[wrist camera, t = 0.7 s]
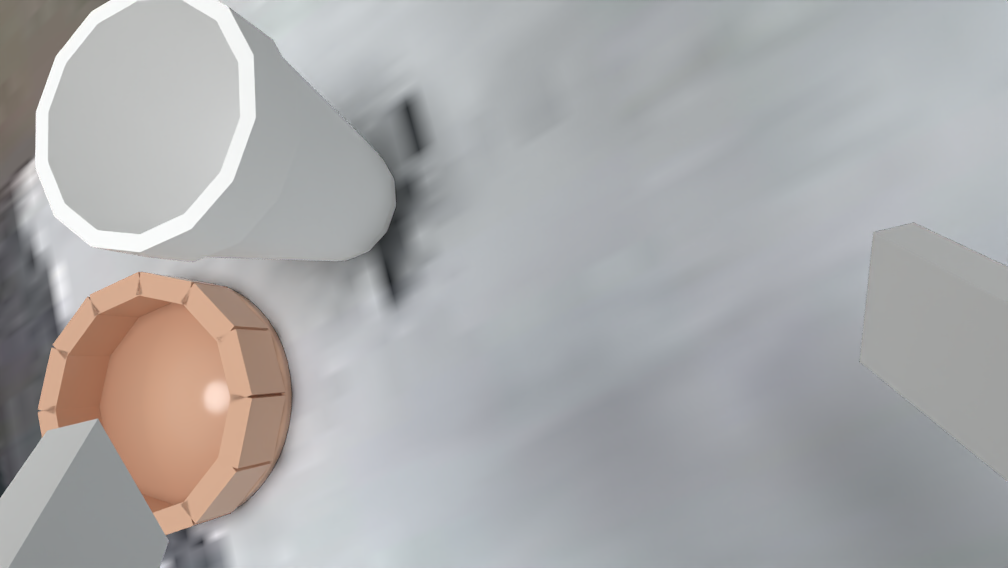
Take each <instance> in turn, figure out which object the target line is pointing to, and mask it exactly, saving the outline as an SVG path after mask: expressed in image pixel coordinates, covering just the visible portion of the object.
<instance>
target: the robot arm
mask: <svg viewBox="0 0 1008 568" xmlns="http://www.w3.org/2000/svg"><path fill="white" fill-rule="evenodd" d="M859 362H860V363H861V364H862V365H864V366H865V367H866V368H867V369H869V370H870V371H871V372H872V373H873V374H875V375H876V376H877V377H878V378H880V379H881V380H882V381H883V382H885V383H886V384H887V385H888V386H890V387H891V388H892V389H893V390H895V391H896V392H897V393H898V394H899V395H901V396H902V397H903V398H904V399H906V400H907V401H908V402H909V403H911V404H912V405H913V406H914V407H916V408H917V409H918V410H919V411H921V412H922V413H923V414H924V415H925V416H927V417H928V418H929V419H930V420H932V421H933V422H934V423H935V424H937V425H938V426H939V427H940V428H942V429H943V430H944V431H945V432H947V433H948V434H949V435H950V436H951V437H953V438H954V439H955V440H956V441H958V442H959V443H960V444H961V445H963V446H964V447H965V448H966V449H968V450H969V451H970V452H971V453H973V454H974V455H975V456H976V457H977V458H979V459H980V460H981V461H982V462H984V463H985V464H986V465H987V466H989V467H990V468H991V469H992V470H994V471H995V472H996V473H997V474H999V475H1000V476H1001V477H1002V478H1003V479H1005V480H1006V481H1007V482H1008V267H1007V266H1005V265H1003V264H1001V263H999V262H997V261H994V260H992V259H990V258H988V257H986V256H984V255H982V254H980V253H977V252H975V251H973V250H971V249H969V248H967V247H965V246H963V245H960V244H958V243H956V242H954V241H952V240H950V239H948V238H946V237H943V236H941V235H939V234H937V233H935V232H933V231H931V230H929V229H927V228H924V227H922V226H920V225H918V224H916V223H909V224H905V225H901V226H897V227H893V228H889V229H884V230H880V231H876V232H873V240H872V250H871V259H870V268H869V277H868V286H867V296H866V305H865V314H864V323H863V333H862V342H861V351H860V360H859ZM168 542H169V540H168V539H167V537H166V535H165V534H164V532H163V530H162V528H161V527H160V525H159V523H158V521H157V520H156V518H155V516H154V515H153V513H152V511H151V509H150V508H149V506H148V504H147V502H146V501H145V499H144V497H143V495H142V494H141V492H140V490H139V489H138V487H137V485H136V483H135V482H134V480H133V478H132V476H131V475H130V473H129V471H128V470H127V468H126V466H125V464H124V463H123V461H122V459H121V457H120V456H119V454H118V452H117V451H116V449H115V447H114V445H113V444H112V442H111V440H110V438H109V437H108V435H107V433H106V432H105V430H104V428H103V426H102V425H101V423H100V421H99V419H94V420H90V421H85V422H81V423H77V424H73V425H69V426H65V427H60V428H56V429H52V430H48V431H47V432H46V433H45V434H44V436H43V437H42V439H41V440H40V442H39V443H38V445H37V446H36V447H35V449H34V450H33V452H32V453H31V455H30V456H29V458H28V459H27V460H26V462H25V463H24V465H23V466H22V468H21V469H20V470H19V472H18V473H17V475H16V476H15V478H14V479H13V481H12V482H11V483H10V485H9V486H8V488H7V489H6V491H5V492H4V494H3V495H2V496H1V498H0V568H160V565H161V562H162V559H163V556H164V553H165V551H166V548H167V545H168Z"/></svg>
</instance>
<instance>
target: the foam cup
mask: <svg viewBox="0 0 1008 568" xmlns="http://www.w3.org/2000/svg"><path fill="white" fill-rule="evenodd" d="M35 169H36V171H37V174H38V176H39V179H40V181H41V184H42V186H43V189H44V191H45V194H46V197H47V199H48V202H49V204H50V207H51V209H52V212H53V214H54V216H55V217H56V218H57V219H58V220H59V221H61V222H62V223H63V224H64V225H65V226H67V227H68V228H69V229H70V230H71V231H73V232H74V233H75V234H76V235H77V236H79V237H80V238H81V239H82V240H83V241H85V242H86V243H87V244H88V245H90V246H91V247H94V248H100V249H105V250H111V251H116V252H122V253H127V254H133V255H138V256H144V257H151V258H160V259H169V260H177V261H186V262H195V261H197V260H200V259H202V258H204V257H213V258H246V259H280V260H314V261H347V260H349V259H352V258H354V257H357V256H359V255H362V254H364V253H367V252H369V251H370V250H371V249H372V247H373V246H374V245H375V244H376V243H377V242H378V241H379V240H380V239H381V238H382V237H383V236H384V235H385V233H386V232H387V230H388V228H389V225H390V222H391V219H392V216H393V214H394V211H395V208H396V195H395V180H394V178H393V176H392V174H391V172H390V171H389V169H388V167H387V165H386V163H385V162H384V160H383V158H382V157H380V156H379V154H378V153H377V152H376V151H375V150H374V149H373V148H372V147H371V146H370V145H369V143H368V142H367V141H366V140H365V139H364V138H363V137H362V136H361V135H360V134H359V133H358V132H357V131H356V130H355V129H354V128H353V127H352V126H351V125H350V124H349V123H348V122H347V121H346V120H345V119H344V118H343V117H342V116H341V115H340V114H339V113H338V112H337V111H336V110H335V109H334V108H333V107H332V106H331V105H330V104H329V103H328V102H327V101H326V100H325V99H324V98H323V97H322V96H321V95H320V94H319V93H318V92H317V91H316V90H315V89H314V88H313V87H312V86H311V85H310V84H309V83H308V82H307V81H306V80H305V79H304V78H303V77H302V76H301V75H300V74H299V73H298V72H297V71H296V70H295V69H294V68H293V67H292V66H291V65H290V64H289V63H288V62H287V61H286V60H285V59H284V58H283V57H282V55H281V54H280V52H279V50H278V48H277V46H276V44H275V42H274V41H273V39H271V38H270V37H269V36H267V35H266V34H265V33H263V32H262V31H260V30H259V29H258V28H256V27H255V26H254V25H252V24H251V23H250V22H248V21H247V20H246V19H244V18H243V17H242V16H240V15H239V14H237V13H236V12H235V11H233V10H232V9H231V8H229V7H228V6H226V5H224V4H223V3H221V2H219V1H218V0H110V1H109V2H107V3H105V4H103V5H102V6H100V7H98V8H97V9H95V10H93V11H92V12H91V13H90V14H89V15H88V17H87V18H86V19H85V20H84V22H83V23H82V24H81V25H80V27H79V28H78V29H77V30H76V32H75V33H74V34H73V35H72V37H71V38H70V39H69V41H68V42H67V43H66V44H65V46H64V47H63V48H62V49H61V51H60V52H59V53H58V54H57V56H56V58H55V60H54V63H53V66H52V69H51V71H50V74H49V77H48V80H47V83H46V85H45V88H44V91H43V94H42V96H41V99H40V102H39V105H38V108H37V110H36V151H35Z"/></svg>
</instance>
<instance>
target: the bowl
mask: <svg viewBox="0 0 1008 568" xmlns="http://www.w3.org/2000/svg"><path fill="white" fill-rule="evenodd" d="M53 345H54V347H55V348H51V352H50V357H49V361H48V366H47V370H46V375H45V379H44V384H43V388H42V393H41V397H40V402H39V406H38V409H39V410H42V411H40V412H38V417H39V422H40V428H41V434H42V437H43V436H44V434H45V433H46V432H47V431H48V430H52V429H56V428H60V427H65V426H69V425H73V424H77V423H81V422H85V421H90V420H94V419H99V421H100V423H101V425H102V426H103V428H104V430H105V432H106V433H107V435H108V437H109V438H110V440H111V442H112V444H113V445H114V447H115V449H116V451H117V452H118V454H119V456H120V457H121V459H122V461H123V463H124V464H125V466H126V468H127V470H128V471H129V473H130V475H131V476H132V478H133V480H134V482H135V483H136V485H137V487H138V489H139V490H140V492H141V494H142V495H143V497H144V499H145V501H146V502H147V504H148V506H149V508H150V509H151V511H152V513H153V515H154V516H155V518H156V520H157V521H158V523H159V525H160V527H161V528H162V530H163V532H164V534H165V535H168V534H171V533H174V532H177V531H180V530H183V529H186V528H189V527H192V526H195V525H198V524H201V523H204V522H207V521H210V520H213V519H216V518H218V517H221V516H224V515H227V514H230V513H231V512H233V511H234V510H235V509H236V508H238V507H239V506H241V505H242V504H243V503H244V502H246V501H247V500H248V499H249V498H250V497H251V496H253V494H254V493H255V492H256V491H257V490H258V489H259V488H260V487H261V486H262V484H263V483H264V482H265V480H266V479H267V477H268V476H269V474H270V473H271V471H272V470H273V468H274V466H275V464H276V462H277V460H278V458H279V456H280V453H281V451H282V448H283V445H284V443H285V439H286V435H287V431H288V428H289V422H290V415H291V400H292V391H291V379H290V373H289V368H288V362H287V359H286V356H285V353H284V350H283V346H282V344H281V342H280V340H279V338H278V336H277V333H276V332H275V330H274V328H273V327H272V325H271V324H270V322H269V320H268V319H267V318H266V317H265V316H264V314H263V313H262V312H261V311H260V310H259V309H258V308H257V307H256V306H255V305H254V304H253V303H252V302H251V301H250V300H248V299H247V298H245V297H244V296H242V295H241V294H239V293H238V292H235V291H233V290H232V289H231V288H228V287H225V286H220V285H216V284H211V283H205V282H199V281H194V280H189V279H184V278H178V277H172V276H165V275H159V274H152V273H145V272H141V273H140V272H137V273H135V274H133V275H131V276H129V277H127V278H125V279H122V280H120V281H118V282H116V283H114V284H112V285H110V286H108V287H105V288H103V289H101V290H99V291H97V292H95V293H93V294H90V297H87V298H86V300H85V301H84V302H83V304H82V305H81V306H80V308H79V309H78V311H77V312H76V313H75V315H74V316H73V317H72V319H71V320H70V322H69V323H68V324H67V326H66V327H65V329H64V330H63V331H62V333H61V334H60V335H59V337H58V338H57V340H56V341H55V342H54V344H53Z"/></svg>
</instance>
